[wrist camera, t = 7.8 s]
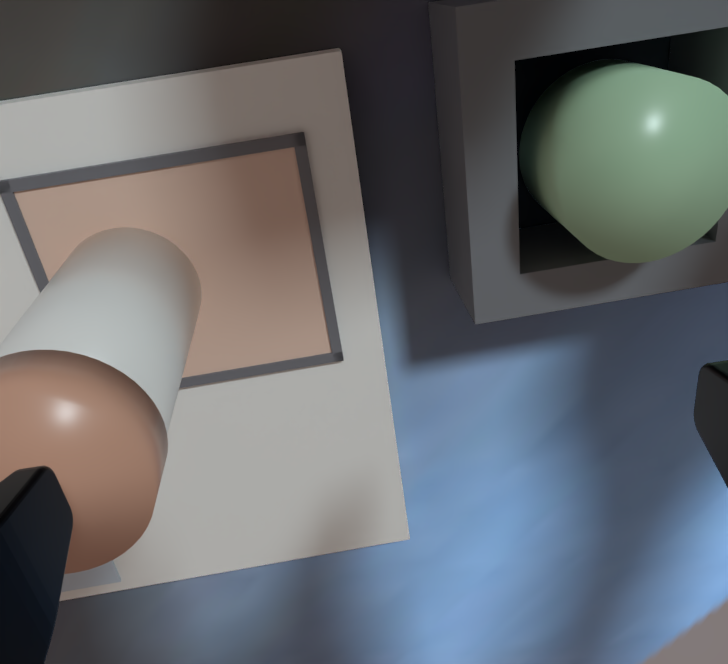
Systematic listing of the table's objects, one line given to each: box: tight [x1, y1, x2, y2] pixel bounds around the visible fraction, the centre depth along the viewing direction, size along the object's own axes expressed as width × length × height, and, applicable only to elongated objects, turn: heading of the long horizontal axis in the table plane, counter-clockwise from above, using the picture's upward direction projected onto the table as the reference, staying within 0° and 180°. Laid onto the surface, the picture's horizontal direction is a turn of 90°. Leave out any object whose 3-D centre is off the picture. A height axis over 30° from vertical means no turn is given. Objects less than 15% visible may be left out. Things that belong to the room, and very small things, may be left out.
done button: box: [519, 59, 728, 263], centre depth 16 cm, size 4×4×3 cm
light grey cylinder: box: [0, 227, 202, 574], centre depth 15 cm, size 4×4×8 cm
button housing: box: [428, 0, 728, 325], centre depth 17 cm, size 7×7×3 cm
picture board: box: [0, 48, 410, 601], centre depth 20 cm, size 20×16×1 cm
